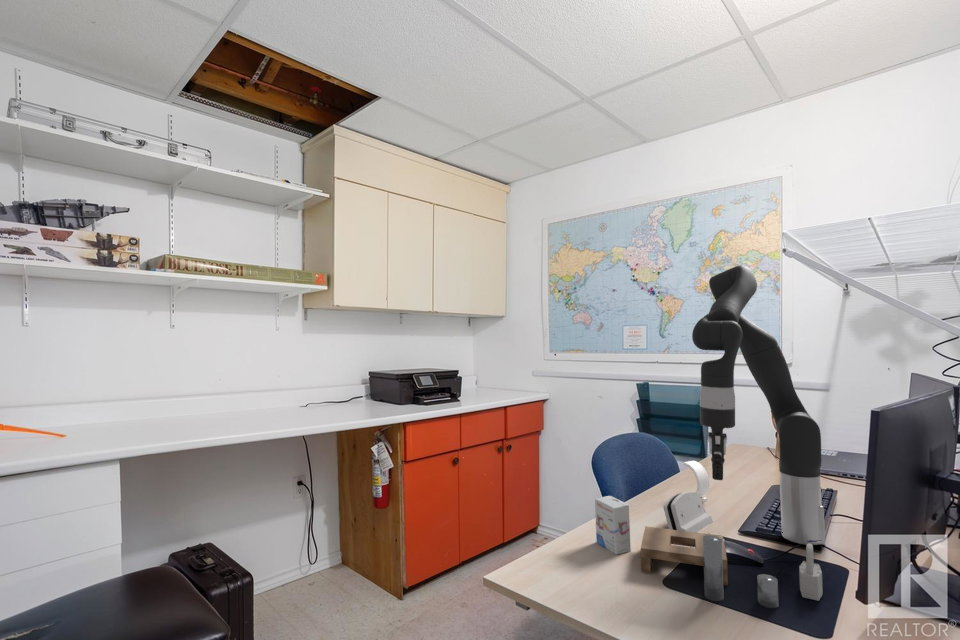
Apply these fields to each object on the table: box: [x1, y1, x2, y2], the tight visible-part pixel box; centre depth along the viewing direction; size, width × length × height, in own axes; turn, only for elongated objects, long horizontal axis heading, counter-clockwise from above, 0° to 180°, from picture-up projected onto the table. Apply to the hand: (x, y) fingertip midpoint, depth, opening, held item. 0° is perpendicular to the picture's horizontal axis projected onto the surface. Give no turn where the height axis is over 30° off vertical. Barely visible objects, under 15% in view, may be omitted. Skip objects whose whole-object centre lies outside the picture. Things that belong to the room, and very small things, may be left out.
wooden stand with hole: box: [640, 526, 729, 586], centre depth 119 cm, size 18×14×6 cm
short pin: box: [756, 573, 779, 609], centre depth 102 cm, size 4×4×5 cm
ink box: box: [594, 495, 632, 555], centre depth 130 cm, size 9×5×12 cm, turn 23°
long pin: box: [703, 534, 725, 602], centre depth 105 cm, size 4×4×12 cm
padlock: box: [798, 543, 824, 602], centre depth 106 cm, size 7×4×10 cm, turn 145°
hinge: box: [663, 491, 714, 533], centre depth 143 cm, size 17×5×10 cm, turn 132°
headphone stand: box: [683, 460, 710, 503], centre depth 164 cm, size 5×6×12 cm
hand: (717, 474), depth 117 cm, fingers open, 8 cm apart
